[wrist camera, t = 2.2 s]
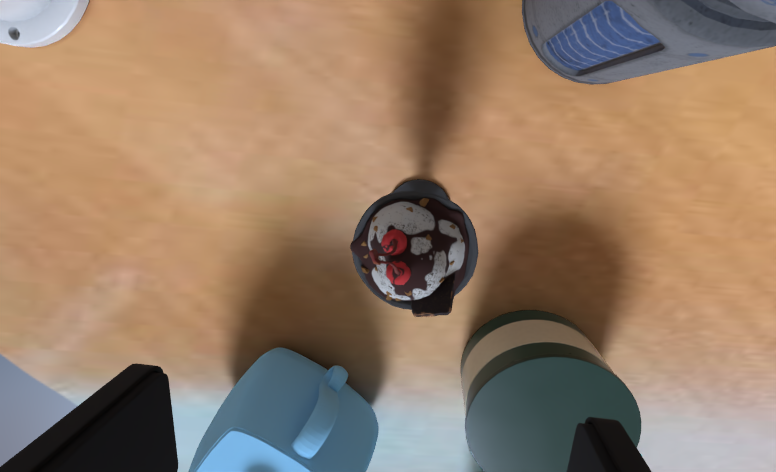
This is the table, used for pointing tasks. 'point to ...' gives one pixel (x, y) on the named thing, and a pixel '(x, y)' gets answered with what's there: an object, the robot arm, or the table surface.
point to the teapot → (289, 421)
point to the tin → (536, 392)
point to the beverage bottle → (643, 34)
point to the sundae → (416, 249)
